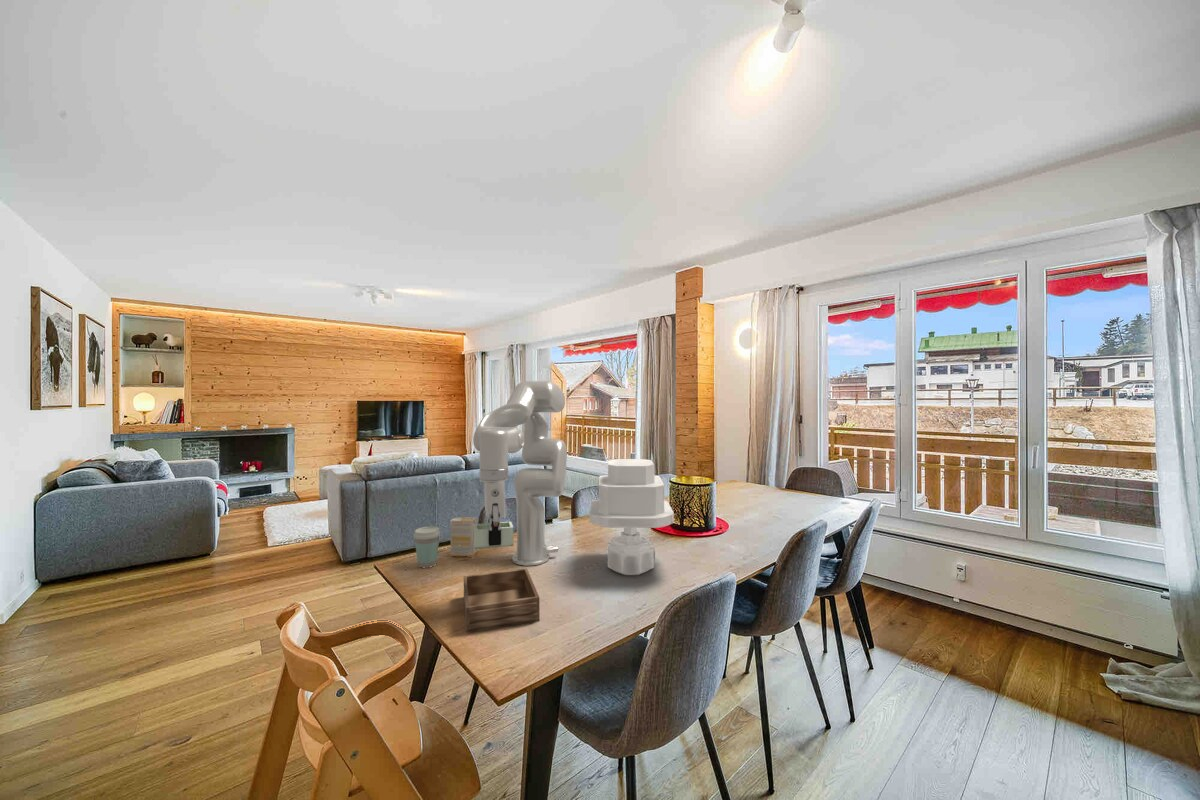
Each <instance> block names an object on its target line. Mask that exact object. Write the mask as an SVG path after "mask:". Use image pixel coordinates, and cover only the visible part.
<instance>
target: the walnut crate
mask: <svg viewBox="0 0 1200 800" xmlns="http://www.w3.org/2000/svg"><path fill="white" fill-rule="evenodd" d="M463 605H464V621H465V633H471V632H478V631H484V630H491V629H497V628H503V627H509V626H515V625H521V624H528V623H532V622H533V623H535V622H539V621H540V611H541V610H540V595H539V594H538V591H537V588H536V586H535V584H534V581H533V579H532V576H531V575H530V571H529V569H528V568H520V569H513V570H504V571H495V572H487V573H479V574H471V575H464V576H463Z"/></svg>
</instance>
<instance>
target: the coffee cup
mask: <svg viewBox="0 0 1200 800" xmlns="http://www.w3.org/2000/svg"><path fill="white" fill-rule="evenodd" d="M440 536H441V530H440V529H439V527H438V526H423V527H419V528H416V529H415V530H414V533H413V539H414V542H415V543H414V545H415V546H414V547H415V551H416V552H415V553H416V560H417V561H416V562H417V567H418V566H419V567H418V568H420V567H430V566H433V567H435V566H436V565H437V564H436V563H438V555H439V544H440ZM435 564H436V565H435ZM434 565H435V566H434ZM430 568H431V567H430Z"/></svg>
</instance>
